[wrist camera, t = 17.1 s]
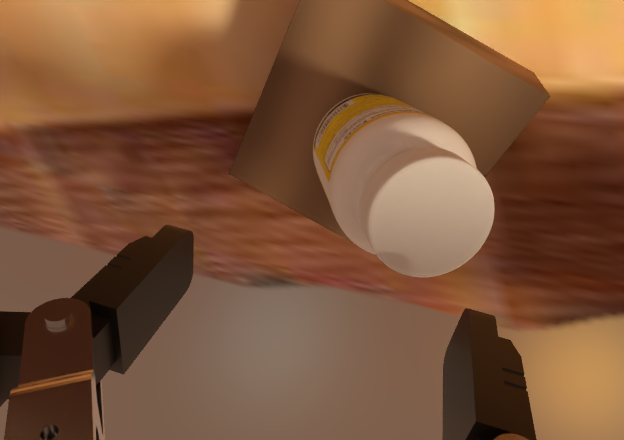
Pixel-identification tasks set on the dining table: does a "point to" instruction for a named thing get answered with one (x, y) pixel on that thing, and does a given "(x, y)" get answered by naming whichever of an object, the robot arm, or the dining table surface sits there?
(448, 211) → the supplement bottle
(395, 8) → the walnut plinth block
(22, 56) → the dining table surface
